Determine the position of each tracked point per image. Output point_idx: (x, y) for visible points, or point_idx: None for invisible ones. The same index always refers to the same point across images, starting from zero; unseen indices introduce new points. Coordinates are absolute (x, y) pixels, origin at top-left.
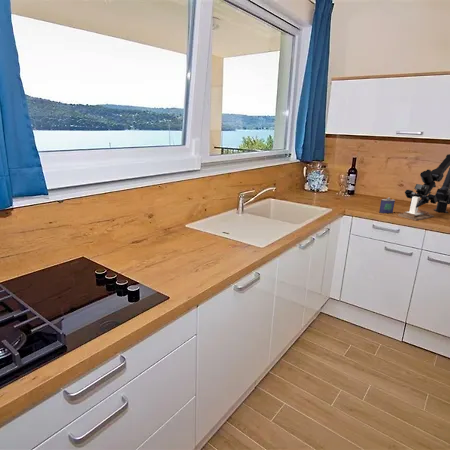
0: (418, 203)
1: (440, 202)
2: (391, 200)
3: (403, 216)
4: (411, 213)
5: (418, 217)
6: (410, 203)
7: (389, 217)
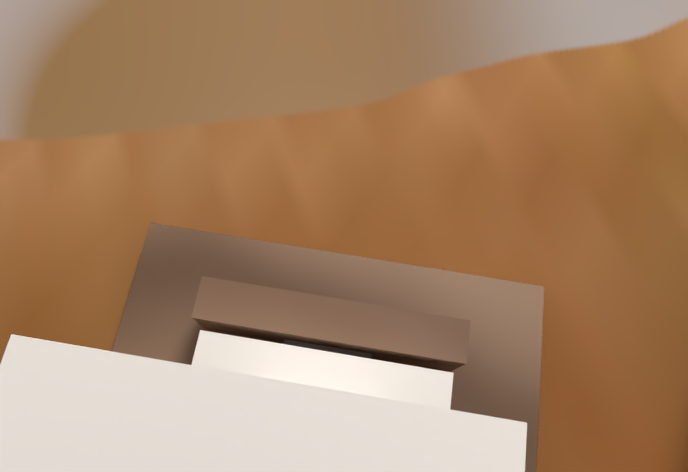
0: None
1: None
2: None
3: (413, 270)
4: (297, 346)
5: None
6: None
7: (538, 62)
